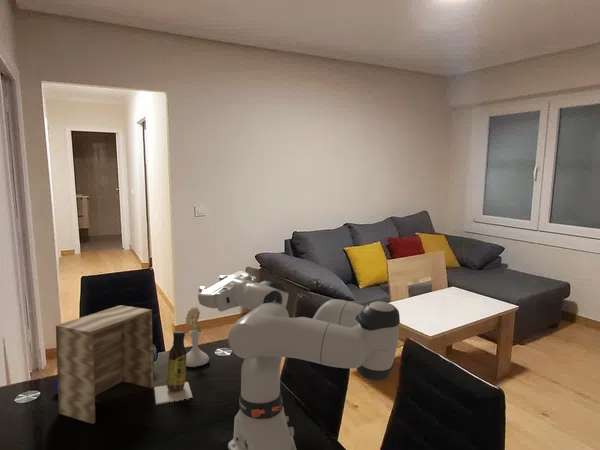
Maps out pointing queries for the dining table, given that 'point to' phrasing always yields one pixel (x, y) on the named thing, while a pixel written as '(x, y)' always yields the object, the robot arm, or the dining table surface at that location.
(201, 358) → the flower in vase
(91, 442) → the dining table surface
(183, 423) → the dining table surface
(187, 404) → the dining table surface
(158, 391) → the plate
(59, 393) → the cubby
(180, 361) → the sauce bottle
